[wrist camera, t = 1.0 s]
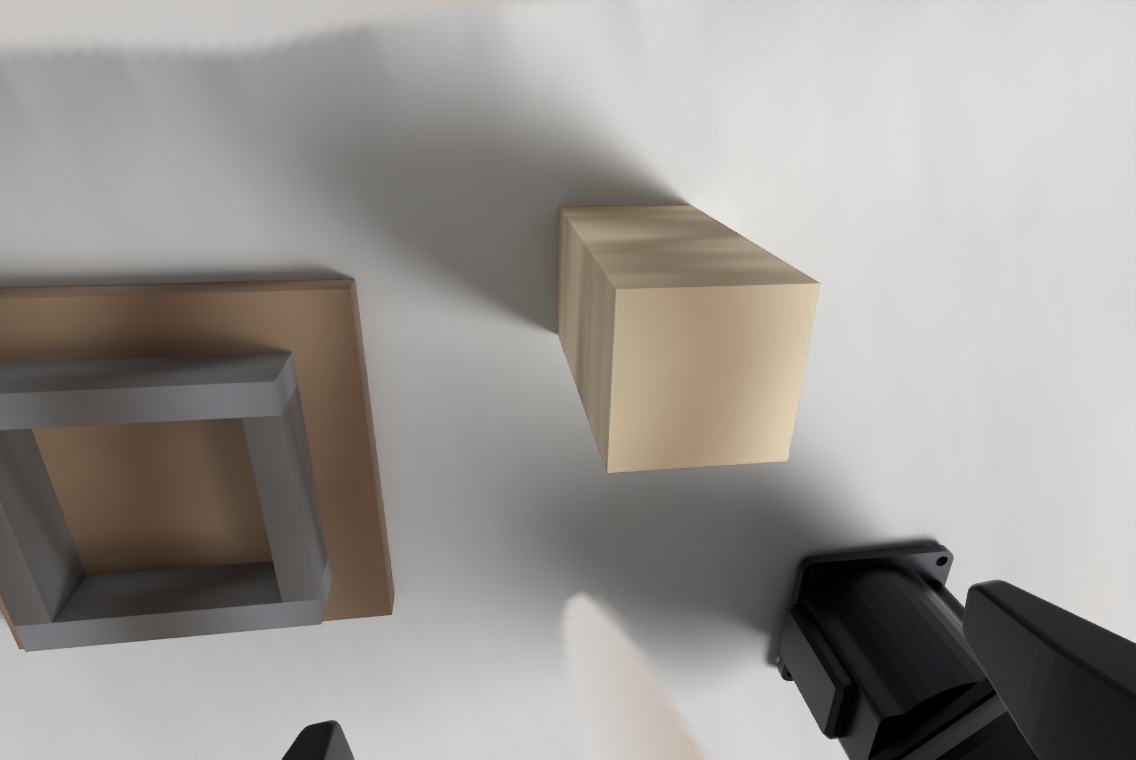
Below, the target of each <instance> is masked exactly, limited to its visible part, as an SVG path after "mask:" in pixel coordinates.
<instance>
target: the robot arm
mask: <svg viewBox="0 0 1136 760" xmlns="http://www.w3.org/2000/svg"><path fill="white" fill-rule="evenodd" d="M952 562H953V555H952V553H951V552H950V551H949V550H948V549H947V548H946V547H944V546H943V545H933V546H922V547H911V548H899V549H888V550H877V551H865V552H854V553H843V554H832V555H820V556H811V557H807V558H806V559H804V560H803V561H802V562H801V563H800V565H799V567H798V571H797V576H796V581H795V586H794V591H793V595H792V600H791V605H790V607H789V608H788V610H787V615H786V620H785V624H784V629H783V634H782V639H781V644H780V649H779V654H780V658H779V663H778V671H779V672H780V674H781V676H782V678H783V679H784V680H786V681H794V682H795V683H796V685H797V687H798V689H799V691H800V693H801V694H802V696H803V698H804V700H805V702H806V704H807V706H808V707H809V709H810V711H811V713H812V715H813V717H814V718H815V720H816V722H817V724H818V726H819V728H820V730H821V731H822V733H823V734H824V735H825V736H826V737H827V738H828V739H837V738H838V740H839V742H840V744H841V746H842V747H843V749H844V751H845V753H846V755H847V756H848V758H849V760H1136V643H1134V642H1132V641H1130V640H1128V639H1126V638H1123V637H1121V636H1119V635H1117V634H1115V633H1113V632H1111V631H1109V630H1107V629H1104V628H1102V627H1100V626H1098V625H1096V624H1094V623H1092V622H1090V621H1088V620H1086V619H1083V618H1081V617H1079V616H1077V615H1075V614H1073V613H1071V612H1069V611H1067V610H1064V609H1062V608H1060V607H1058V606H1056V605H1054V604H1052V603H1050V602H1048V601H1045V600H1043V599H1041V598H1039V597H1037V596H1035V595H1033V594H1031V593H1029V592H1027V591H1024V590H1022V589H1020V588H1018V587H1016V586H1014V585H1012V584H1010V583H1007V582H1005V581H1002V580H991V581H986V582H982V583H977V584H974V585H972V586H971V587H970V588H969V590H968V593H967V599H966V604H965V608H964V607H963V606H962V605H961V603H960V602H959V601H958V600H957V599H956V598H955V597H954V596H953V595H952V594H951V593H950V592H949V591H948V590H947V588H946V587H945V583H946V580H947V577H948V574H949V571H950V568H951V565H952ZM812 569H813V570H812ZM810 570H811V571H810ZM282 760H354V757H353V754H352V752H351V749H350V747H349V745H348V742H347V740H346V738H345V735H344V733H343V730H342V728H341V726H340V724H339V723H338V722H337V721H335V720H330V721H326V722H321V723H316V724H312V725H309V726H307V727H305V728H304V729H303V730H302V731H301V732H300V734H299V735H298V737H297V738H296V740H295V741H294V742H293V744H292V745H291V747H290V748H289V750H288V751H287V753H286V754H285V755H284V757H283V758H282Z"/></svg>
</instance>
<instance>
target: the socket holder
mask: <svg viewBox="0 0 1136 760" xmlns="http://www.w3.org/2000/svg"><path fill="white" fill-rule="evenodd" d="M393 602H394V588H393V580H392V572H391V564H390V556H389V548H388V540H387V532H386V524H385V516H384V508H383V500H382V492H381V484H380V476H379V468H378V460H377V452H376V444H375V436H374V428H373V420H372V412H371V404H370V396H369V388H368V380H367V372H366V364H365V356H364V348H363V340H362V332H361V324H360V316H359V308H358V300H357V292H356V284H355V279H337V280H298V281H259V282H220V283H181V284H142V285H103V286H64V287H25V288H0V608H1V610H2V612H3V615H4V617H5V619H6V621H7V623H8V625H9V628H10V630H11V632H12V634H13V636H14V639H15V641H16V643H17V645H18V647H19V649H25V651H26V652H28V651H39V650H50V649H60V648H71V647H82V646H92V645H103V644H114V643H125V642H135V641H146V640H157V639H167V638H178V637H189V636H199V635H210V634H221V633H232V632H242V631H253V630H264V629H274V628H285V627H296V626H307V625H317V624H321V623H322V621H330V620H341V619H352V618H362V617H373V616H384V615H392V609H393Z"/></svg>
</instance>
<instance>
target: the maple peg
mask: <svg viewBox="0 0 1136 760" xmlns="http://www.w3.org/2000/svg"><path fill="white" fill-rule="evenodd" d="M819 288H820V283H819V282H817V281H816V280H814V279H812V278H811V277H809V276H807V275H806V274H804V273H802V272H801V271H799V270H797V269H796V268H794V267H793V266H791V265H789V264H788V263H786V262H784V261H783V260H781V259H779V258H778V257H776V256H774V255H773V254H771V253H769V252H768V251H766V250H765V249H763V248H761V247H760V246H758V245H756V244H755V243H753V242H751V241H750V240H748V239H746V238H745V237H743V236H741V235H740V234H738V233H737V232H735V231H733V230H732V229H730V228H728V227H727V226H725V225H723V224H722V223H720V222H718V221H717V220H715V219H713V218H712V217H710V216H709V215H707V214H705V213H704V212H702V211H700V210H699V209H697V208H695V207H694V206H692V205H662V206H577V207H559V282H558V336H559V339H560V342H561V345H562V347H563V350H564V353H565V356H566V359H567V361H568V364H569V367H570V370H571V373H572V375H573V378H574V381H575V384H576V387H577V390H578V392H579V395H580V398H581V401H582V404H583V406H584V409H585V412H586V415H587V418H588V420H589V423H590V426H591V429H592V432H593V435H594V437H595V440H596V443H597V446H598V449H599V451H600V454H601V457H602V460H603V463H604V465H605V468H606V471H607V473H618V472H633V471H647V470H662V469H677V468H692V467H707V466H722V465H737V464H751V463H766V462H781V461H788V457H789V451H790V446H791V440H792V435H793V429H794V424H795V419H796V413H797V408H798V402H799V397H800V391H801V386H802V380H803V375H804V370H805V364H806V359H807V353H808V348H809V342H810V337H811V331H812V326H813V321H814V315H815V310H816V304H817V299H818V293H819Z"/></svg>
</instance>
